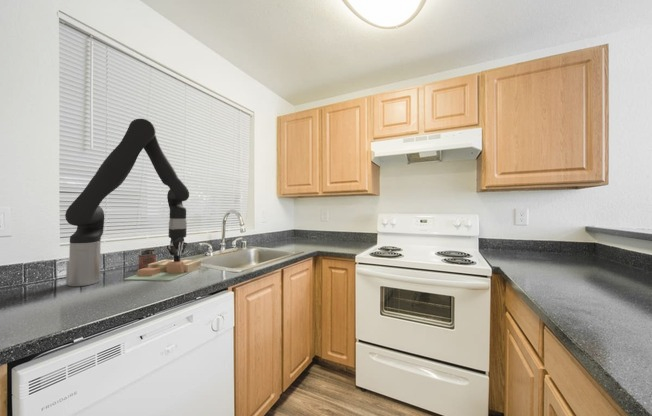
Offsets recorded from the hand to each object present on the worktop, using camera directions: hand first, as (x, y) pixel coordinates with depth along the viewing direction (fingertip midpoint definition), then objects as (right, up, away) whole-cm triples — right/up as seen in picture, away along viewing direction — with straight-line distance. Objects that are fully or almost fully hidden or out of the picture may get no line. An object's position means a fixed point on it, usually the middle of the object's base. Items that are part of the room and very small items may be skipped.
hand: (176, 263), depth 121 cm
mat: (-5, -5, -6) cm, 9 cm away
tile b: (0, -2, -2) cm, 2 cm away
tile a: (-11, -3, -5) cm, 12 cm away
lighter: (-21, -5, +10) cm, 24 cm away
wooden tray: (-5, -5, +7) cm, 10 cm away
